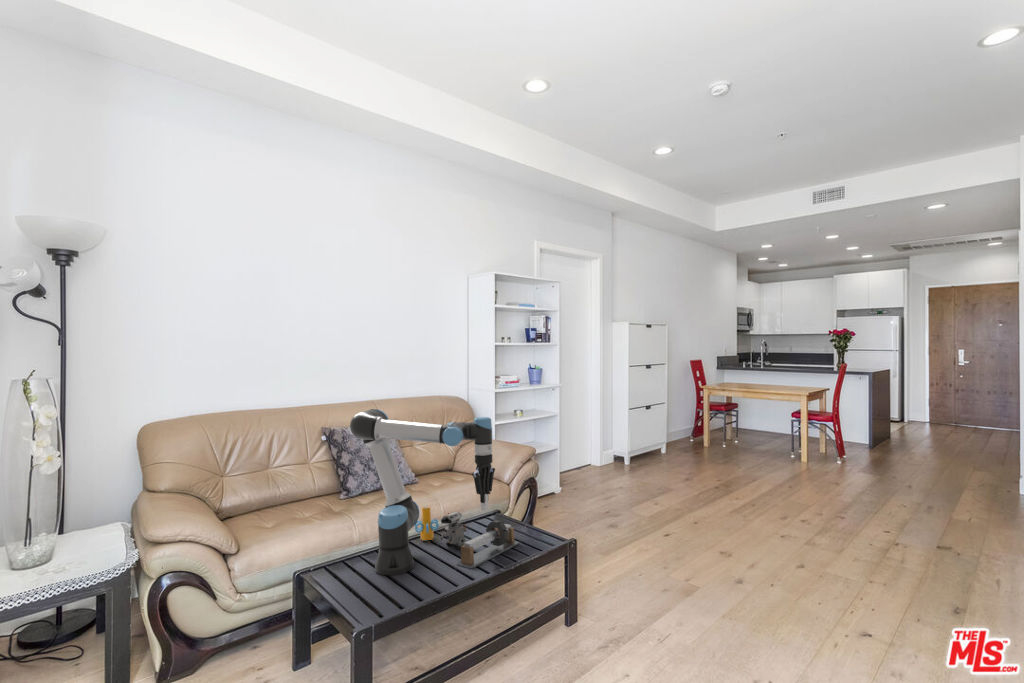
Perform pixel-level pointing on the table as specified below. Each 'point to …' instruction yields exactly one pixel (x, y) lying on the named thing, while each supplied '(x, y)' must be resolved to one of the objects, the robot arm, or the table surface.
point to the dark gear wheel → (502, 530)
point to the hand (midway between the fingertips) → (484, 509)
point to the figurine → (454, 529)
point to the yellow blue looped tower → (426, 524)
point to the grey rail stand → (476, 559)
